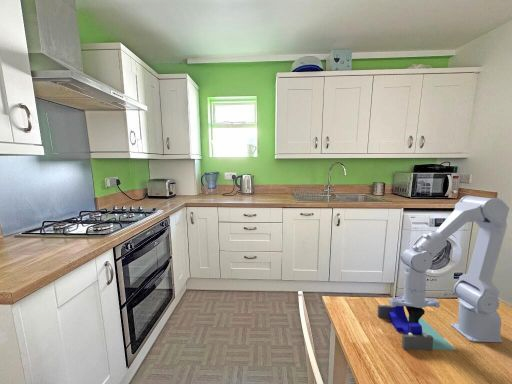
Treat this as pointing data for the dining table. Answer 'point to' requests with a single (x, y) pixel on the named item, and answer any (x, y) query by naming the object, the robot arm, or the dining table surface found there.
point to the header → (409, 340)
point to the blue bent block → (403, 322)
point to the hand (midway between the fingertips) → (412, 327)
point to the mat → (435, 336)
